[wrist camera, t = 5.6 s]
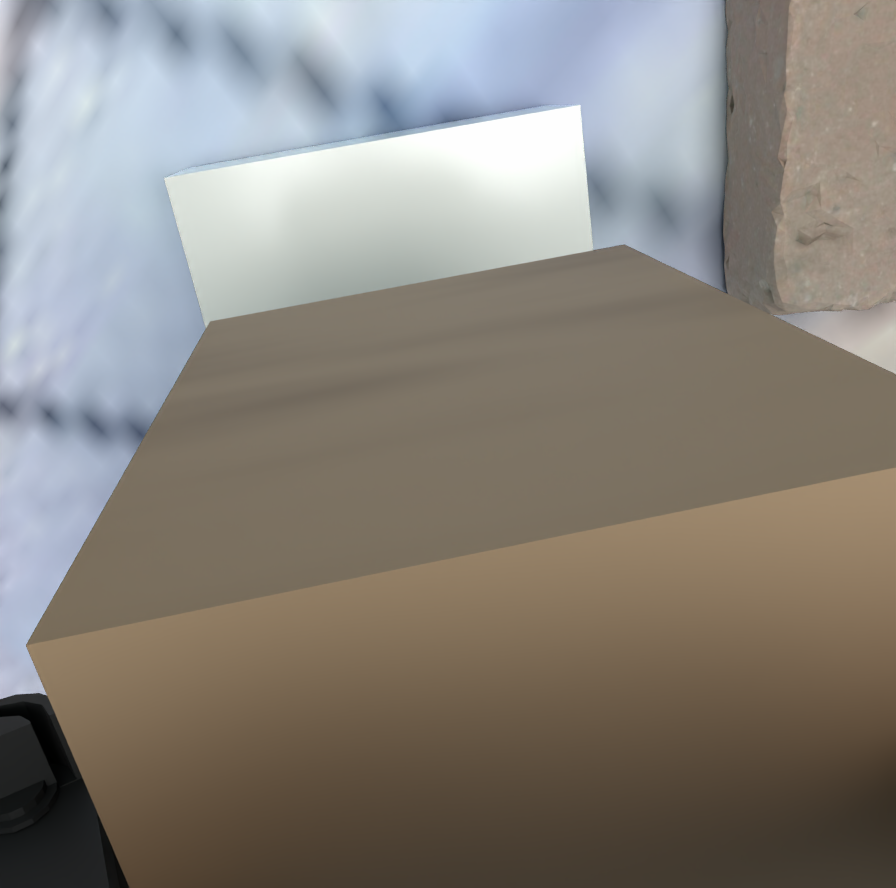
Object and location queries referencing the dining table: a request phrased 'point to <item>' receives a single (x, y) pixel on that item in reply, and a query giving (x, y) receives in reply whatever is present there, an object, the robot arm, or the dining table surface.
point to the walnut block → (496, 597)
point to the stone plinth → (383, 210)
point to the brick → (811, 154)
